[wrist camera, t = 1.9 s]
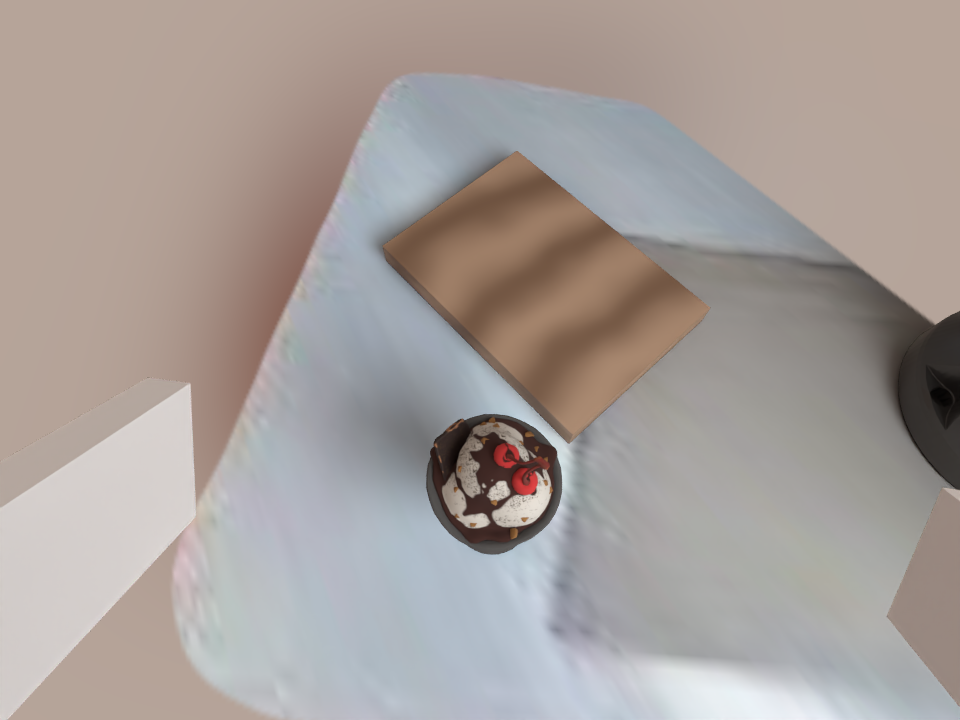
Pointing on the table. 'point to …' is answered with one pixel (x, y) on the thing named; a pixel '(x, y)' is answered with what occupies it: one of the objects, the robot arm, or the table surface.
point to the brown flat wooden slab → (545, 291)
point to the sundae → (493, 482)
